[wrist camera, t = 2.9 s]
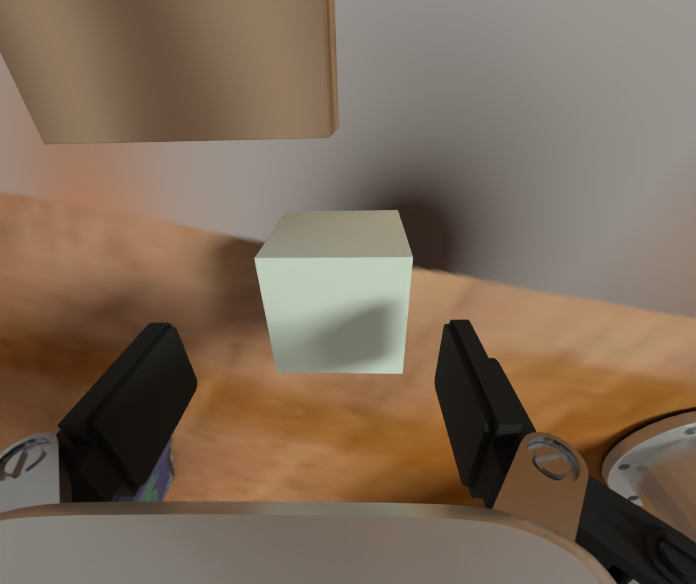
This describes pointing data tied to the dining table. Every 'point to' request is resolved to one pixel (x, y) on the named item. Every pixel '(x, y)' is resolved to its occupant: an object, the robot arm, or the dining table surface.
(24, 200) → the dining table surface
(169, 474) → the flask
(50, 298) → the dining table surface
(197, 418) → the dining table surface
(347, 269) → the sage block
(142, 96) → the walnut block
